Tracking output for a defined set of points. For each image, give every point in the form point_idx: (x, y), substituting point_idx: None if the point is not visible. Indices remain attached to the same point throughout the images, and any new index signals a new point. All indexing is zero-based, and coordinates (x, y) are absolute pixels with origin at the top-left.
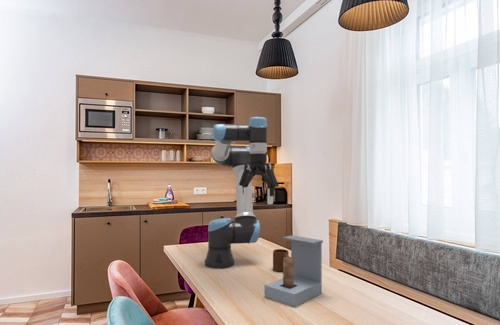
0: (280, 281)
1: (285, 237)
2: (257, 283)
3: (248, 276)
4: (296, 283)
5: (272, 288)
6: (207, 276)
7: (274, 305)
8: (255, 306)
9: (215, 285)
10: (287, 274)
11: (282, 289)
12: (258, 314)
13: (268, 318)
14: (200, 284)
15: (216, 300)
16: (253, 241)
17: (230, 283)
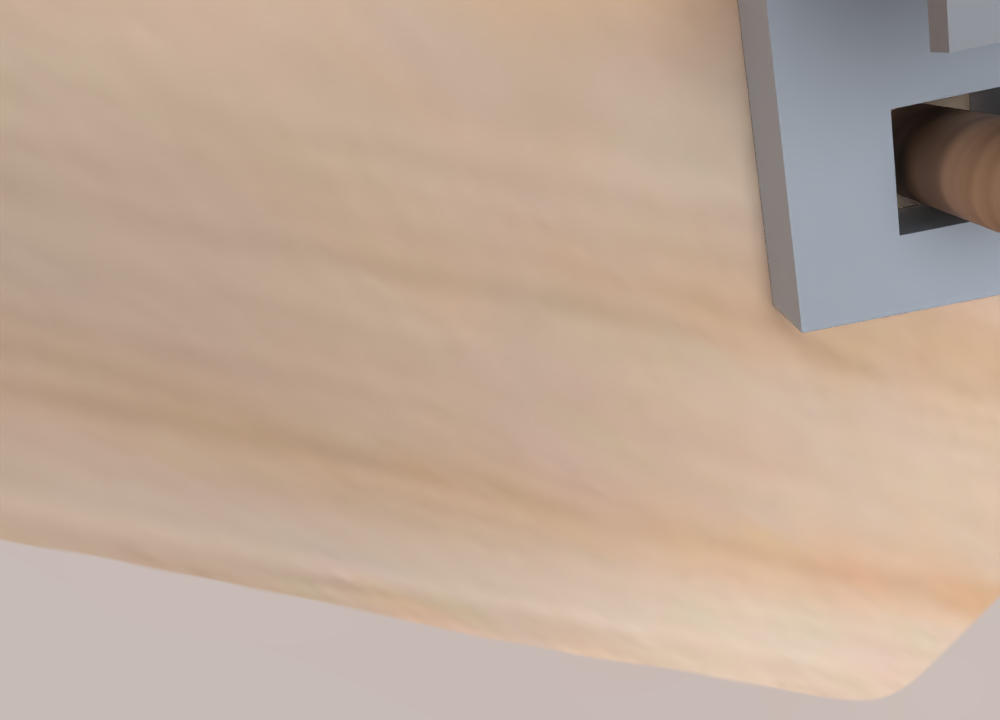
0: (826, 145)
1: (984, 1)
2: (473, 148)
3: (244, 92)
4: (974, 52)
5: (890, 312)
6: (51, 416)
7: (942, 345)
8: (859, 462)
9: (313, 473)
10: None
11: (984, 273)
12: (968, 518)
13: None
14: (226, 554)
15: (597, 610)
16: None
17: (336, 349)
